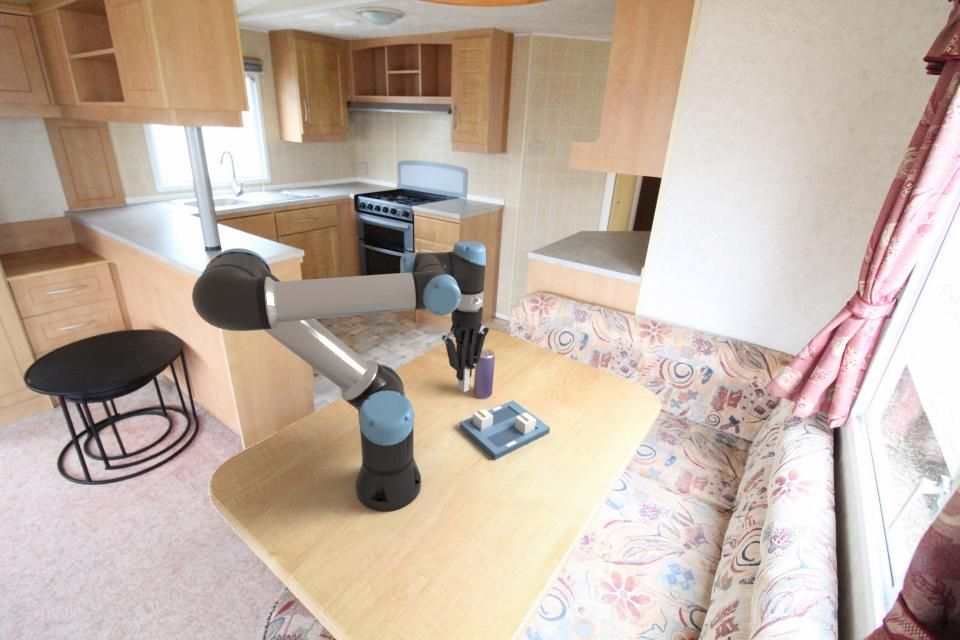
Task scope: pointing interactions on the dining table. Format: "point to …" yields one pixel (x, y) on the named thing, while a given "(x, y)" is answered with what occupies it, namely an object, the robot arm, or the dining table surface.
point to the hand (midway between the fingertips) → (463, 388)
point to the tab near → (525, 423)
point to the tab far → (482, 419)
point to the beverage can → (484, 374)
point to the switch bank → (503, 430)
